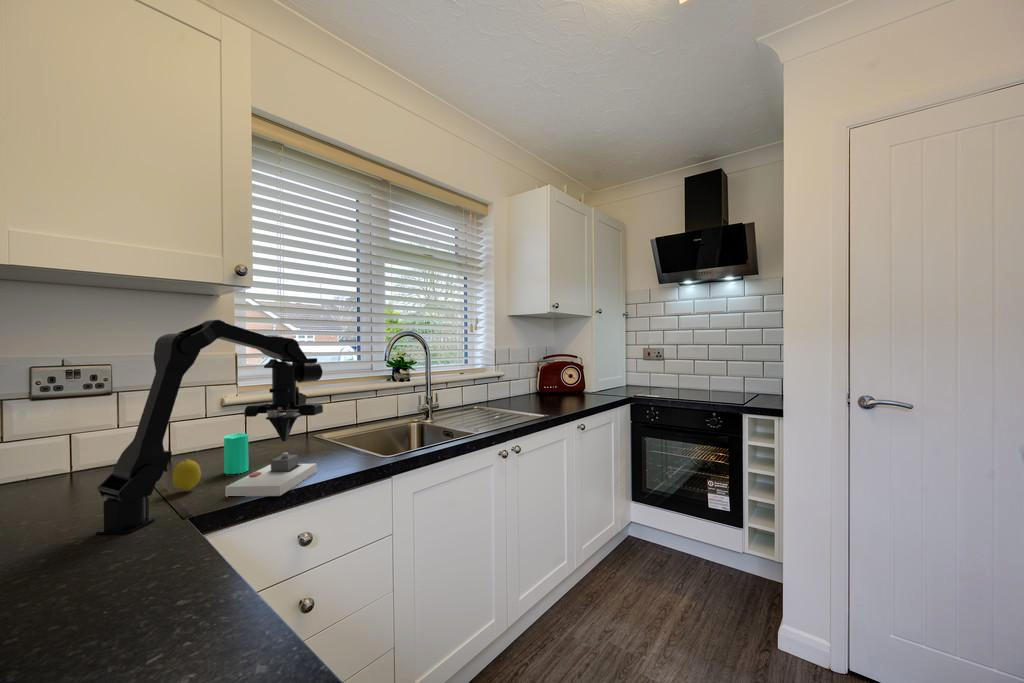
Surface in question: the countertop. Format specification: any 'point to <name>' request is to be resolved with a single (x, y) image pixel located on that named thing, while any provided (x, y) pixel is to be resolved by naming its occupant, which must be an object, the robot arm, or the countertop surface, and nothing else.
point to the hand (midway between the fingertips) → (284, 441)
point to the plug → (284, 463)
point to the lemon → (186, 475)
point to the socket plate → (270, 481)
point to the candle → (236, 453)
